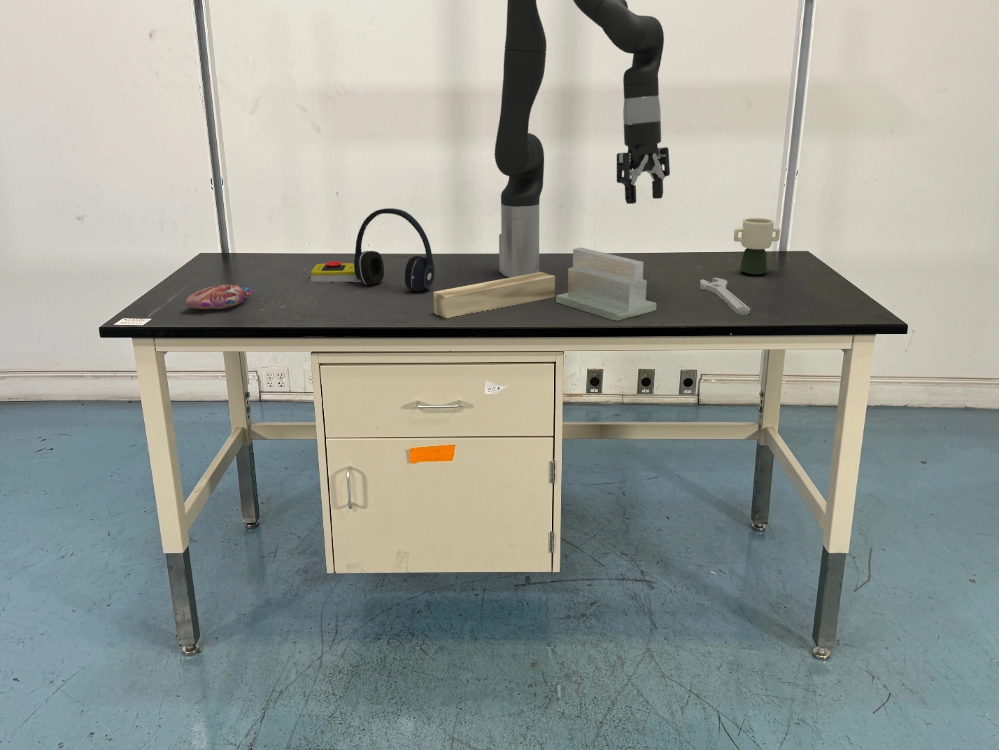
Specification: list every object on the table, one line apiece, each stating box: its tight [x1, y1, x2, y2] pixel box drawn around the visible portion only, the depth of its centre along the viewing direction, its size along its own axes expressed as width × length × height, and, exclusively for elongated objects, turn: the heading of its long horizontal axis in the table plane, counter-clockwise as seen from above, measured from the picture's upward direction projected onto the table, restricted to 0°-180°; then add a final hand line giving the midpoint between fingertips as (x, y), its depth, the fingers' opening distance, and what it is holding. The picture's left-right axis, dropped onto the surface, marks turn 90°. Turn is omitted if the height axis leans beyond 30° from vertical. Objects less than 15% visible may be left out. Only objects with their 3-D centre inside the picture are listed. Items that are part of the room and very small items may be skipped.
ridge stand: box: [555, 247, 657, 322], centre depth 169 cm, size 18×12×11 cm, turn 39°
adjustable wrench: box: [699, 277, 751, 316], centre depth 176 cm, size 25×6×2 cm, turn 178°
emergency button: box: [310, 260, 360, 281], centre depth 195 cm, size 9×4×15 cm
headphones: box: [353, 207, 436, 292], centre depth 184 cm, size 20×7×18 cm, turn 63°
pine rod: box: [433, 271, 556, 319], centre depth 172 cm, size 5×28×5 cm, turn 124°
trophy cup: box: [733, 217, 781, 275], centre depth 193 cm, size 11×7×13 cm, turn 89°
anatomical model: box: [185, 284, 254, 310], centre depth 175 cm, size 11×6×15 cm
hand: (644, 200), depth 169 cm, fingers open, 8 cm apart
